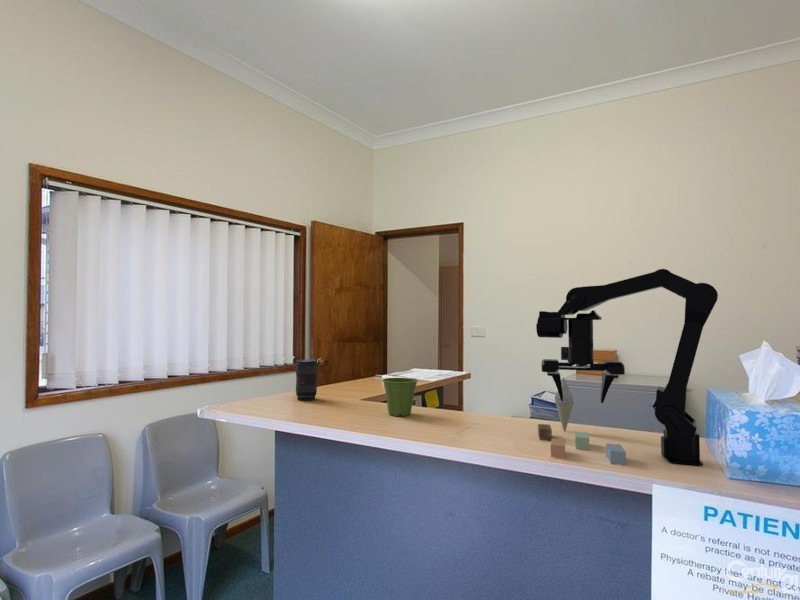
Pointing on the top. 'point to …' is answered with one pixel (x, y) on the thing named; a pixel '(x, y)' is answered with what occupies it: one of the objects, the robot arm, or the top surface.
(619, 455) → the slate brick
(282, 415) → the top surface
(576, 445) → the green brick
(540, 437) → the walnut brick
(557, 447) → the terracotta brick
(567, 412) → the ice cream cone
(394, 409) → the plant pot
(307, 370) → the camera lens
